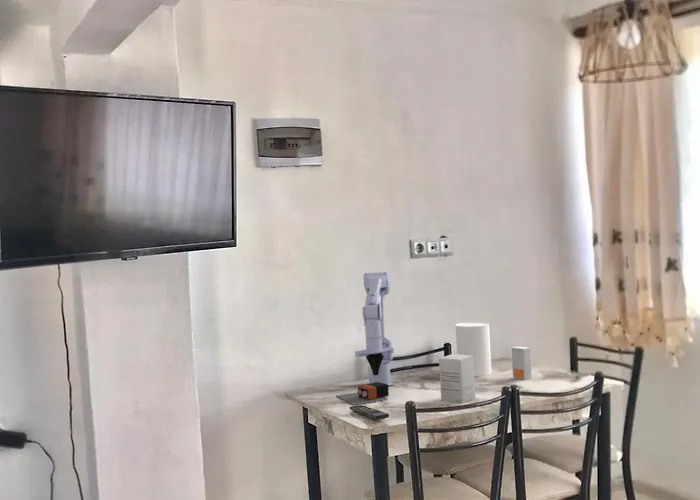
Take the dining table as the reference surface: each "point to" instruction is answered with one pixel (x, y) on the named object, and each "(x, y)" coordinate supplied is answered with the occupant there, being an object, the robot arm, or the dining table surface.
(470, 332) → the canister
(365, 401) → the mat
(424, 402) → the dining table surface
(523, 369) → the skincare box
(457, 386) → the supplement box
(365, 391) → the battery
